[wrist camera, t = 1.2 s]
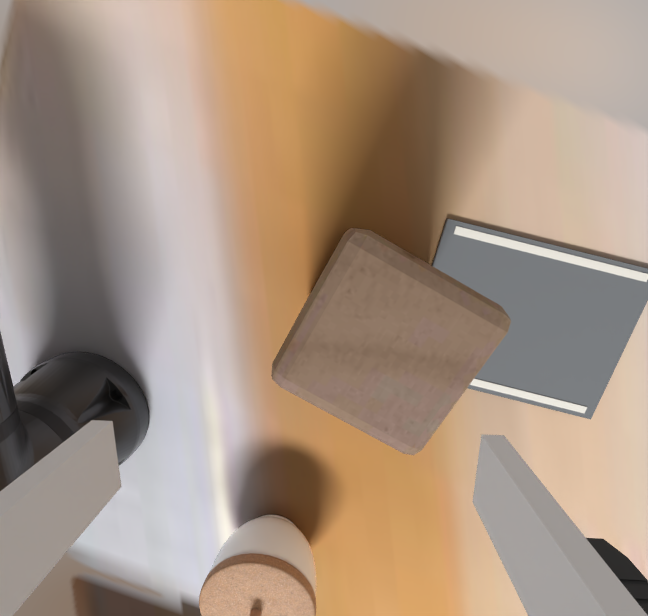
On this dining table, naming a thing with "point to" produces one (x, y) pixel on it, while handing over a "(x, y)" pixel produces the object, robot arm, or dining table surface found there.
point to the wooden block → (388, 341)
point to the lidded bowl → (262, 572)
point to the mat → (547, 314)
